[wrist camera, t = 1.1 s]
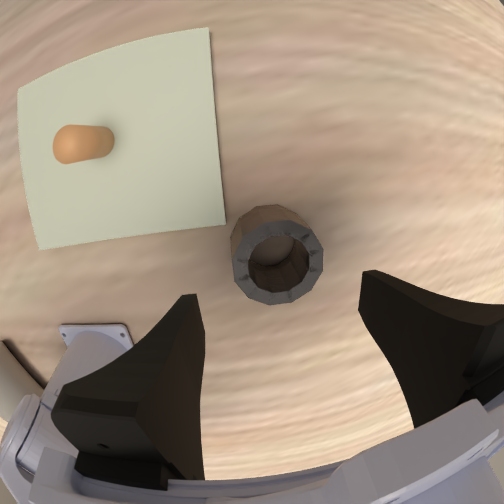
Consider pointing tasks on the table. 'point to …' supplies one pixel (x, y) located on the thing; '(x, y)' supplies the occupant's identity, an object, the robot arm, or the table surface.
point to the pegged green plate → (123, 143)
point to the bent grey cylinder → (14, 383)
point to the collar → (285, 273)
